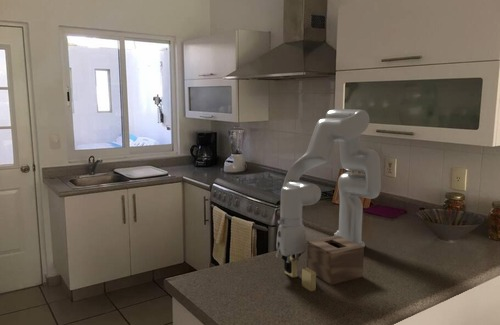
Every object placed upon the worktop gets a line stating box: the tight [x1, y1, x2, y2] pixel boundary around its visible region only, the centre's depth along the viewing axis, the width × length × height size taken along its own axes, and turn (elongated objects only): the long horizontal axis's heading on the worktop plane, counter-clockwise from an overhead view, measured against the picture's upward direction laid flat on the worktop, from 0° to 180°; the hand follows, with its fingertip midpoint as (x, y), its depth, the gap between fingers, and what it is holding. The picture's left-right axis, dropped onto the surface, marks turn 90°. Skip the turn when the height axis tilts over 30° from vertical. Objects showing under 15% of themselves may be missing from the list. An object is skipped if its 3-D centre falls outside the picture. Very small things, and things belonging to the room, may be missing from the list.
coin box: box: [306, 235, 365, 286], centre depth 149 cm, size 14×14×11 cm
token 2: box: [301, 266, 317, 292], centre depth 138 cm, size 5×2×6 cm, turn 28°
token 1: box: [284, 256, 298, 279], centre depth 148 cm, size 5×2×6 cm, turn 29°
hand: (290, 270), depth 148 cm, fingers closed on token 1, 1 cm apart
